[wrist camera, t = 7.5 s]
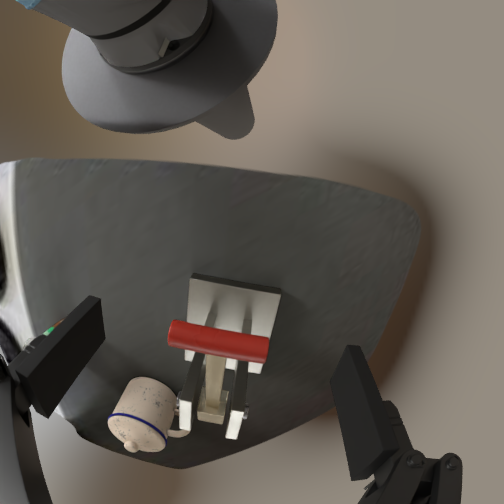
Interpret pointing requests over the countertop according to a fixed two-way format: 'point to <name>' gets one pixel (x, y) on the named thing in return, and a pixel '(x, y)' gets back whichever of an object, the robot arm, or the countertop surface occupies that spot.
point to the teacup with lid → (145, 416)
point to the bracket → (233, 319)
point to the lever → (216, 359)
